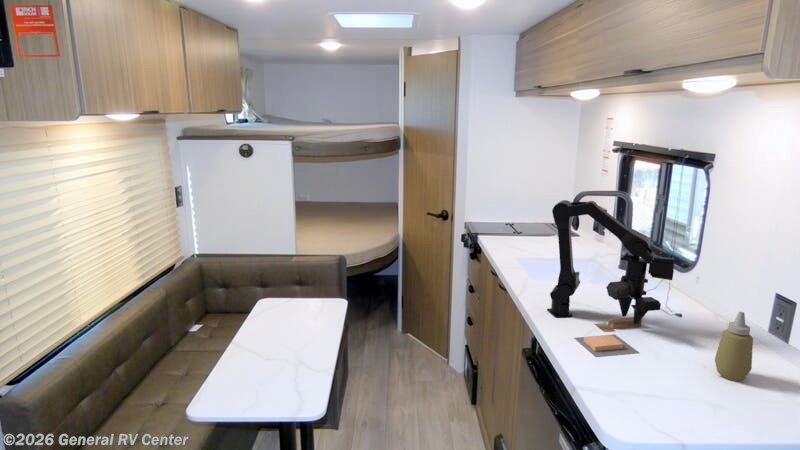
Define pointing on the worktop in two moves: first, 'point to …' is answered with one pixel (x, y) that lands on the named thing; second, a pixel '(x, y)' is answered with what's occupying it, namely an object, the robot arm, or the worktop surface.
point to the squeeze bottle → (735, 350)
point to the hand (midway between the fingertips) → (629, 320)
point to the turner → (618, 324)
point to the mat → (626, 350)
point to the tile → (603, 343)
